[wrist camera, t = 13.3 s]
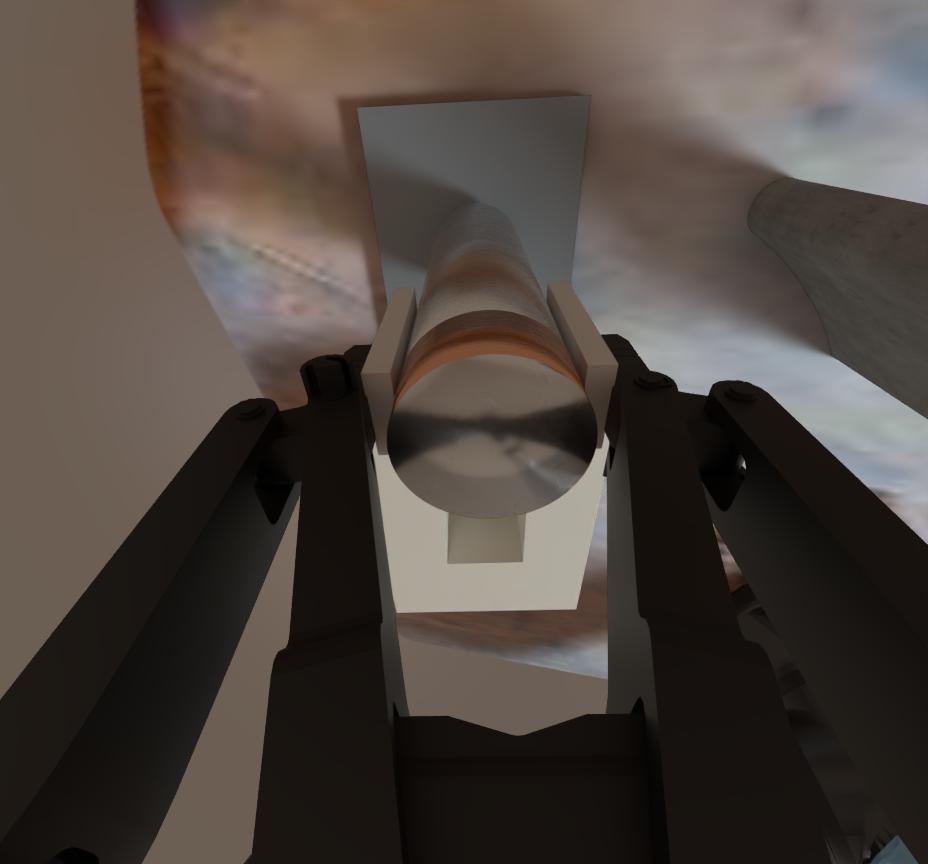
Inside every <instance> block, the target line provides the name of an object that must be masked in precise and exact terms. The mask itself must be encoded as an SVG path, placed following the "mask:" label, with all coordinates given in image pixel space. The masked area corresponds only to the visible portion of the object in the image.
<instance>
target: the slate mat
mask: <svg viewBox="0 0 928 864" xmlns="http://www.w3.org/2000/svg"><path fill="white" fill-rule="evenodd" d="M590 99H591V95H580V96H562V97H544V98H525V99H507V100H488V101H470V102H452V103H433V104H415V105H397V106H378V107H360V108H357V111H358V117H359V124H360V130H361V137H362V143H363V150H364V156H365V163H366V169H367V176H368V182H369V188H370V195H371V201H372V208H373V214H374V221H375V227H376V234H377V240H378V247H379V253H380V259H381V266H382V272H383V279H384V285H385V292H386V298H387V305H389V302H390V300H391V297H392V295H393V292H394V290H395V288H415V293H416V302H417V310H418V306H419V302H420V298H421V294H422V290H423V286H424V282H425V277H426V273H427V269H428V265H429V261H430V257H431V253H432V249H433V245H434V241H435V237H436V234H437V231H438V229H439V227H440V225H441V224H442V222H443V221H444V219H445V218H446V217H447V216H448V215H449V214H450V213H452V212H453V211H454V210H456V209H458V208H460V207H462V206H465V205H468V204H475V203H476V204H486V205H490V206H493V207H495V208H497V209H499V210H500V211H501V212H503V213H504V214H505V215H506V216H507V217H508V218H509V219H510V221H511V222H512V224H513V225H514V227H515V229H516V232H517V234H518V236H519V239H520V241H521V243H522V246H523V248H524V250H525V253H526V255H527V257H528V260H529V262H530V264H531V267H532V269H533V271H534V274H535V276H536V279H537V281H538V283H539V286H540V288H541V290H542V293H543V295H544V297H545V300H546V298H547V285H548V282H562V281H568V282H569V284H571V275H572V266H573V256H574V247H575V238H576V229H577V219H578V210H579V201H580V192H581V182H582V173H583V164H584V155H585V145H586V136H587V127H588V118H589V108H590Z"/></svg>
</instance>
